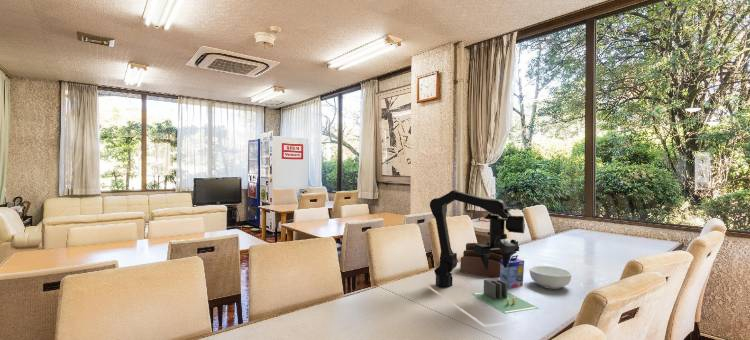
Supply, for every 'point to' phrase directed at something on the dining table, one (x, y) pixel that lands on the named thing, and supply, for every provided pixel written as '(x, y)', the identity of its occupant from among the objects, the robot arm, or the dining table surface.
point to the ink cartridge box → (512, 272)
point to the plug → (495, 288)
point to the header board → (506, 303)
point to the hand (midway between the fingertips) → (495, 268)
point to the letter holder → (480, 262)
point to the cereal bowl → (550, 276)
